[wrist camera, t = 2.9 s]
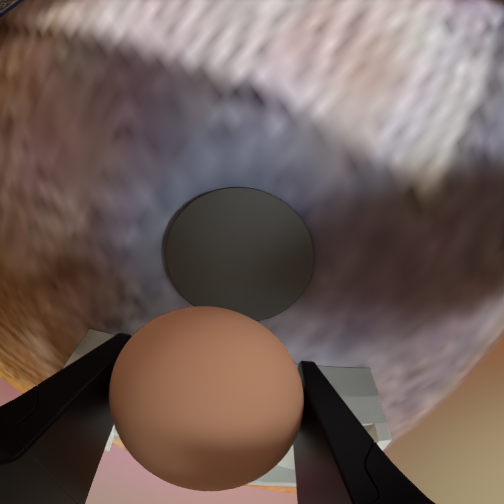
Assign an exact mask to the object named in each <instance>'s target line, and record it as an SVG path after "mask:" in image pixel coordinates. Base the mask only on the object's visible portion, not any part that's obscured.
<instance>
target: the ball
mask: <svg viewBox="0 0 504 504" xmlns="http://www.w3.org/2000/svg"><path fill="white" fill-rule="evenodd" d="M109 404H110V411H111V416H112V420H113V423H114V426H115V429H116V431H117V433H118V435H119V437H120V439H121V441H122V443H123V444H124V446H125V447H126V448H127V450H128V451H129V452H130V454H131V455H132V456H133V457H134V459H135V460H136V461H138V462H139V463H140V464H141V465H142V466H143V467H144V468H145V469H146V470H148V471H149V472H151V473H152V474H154V475H156V476H157V477H159V478H161V479H162V480H164V481H166V482H169V483H171V484H174V485H177V486H180V487H183V488H188V489H192V490H199V491H221V490H227V489H233V488H236V487H240V486H243V485H246V484H248V483H251V482H253V481H255V480H257V479H258V478H260V477H262V476H263V475H265V474H266V473H268V472H269V471H270V470H271V469H273V468H274V467H275V466H276V465H277V464H278V463H279V462H280V461H281V460H282V459H283V458H284V456H285V455H286V454H287V453H288V451H289V450H290V448H291V446H292V445H293V443H294V441H295V439H296V437H297V434H298V431H299V429H300V426H301V423H302V417H303V409H304V394H303V387H302V382H301V378H300V375H299V372H298V369H297V367H296V364H295V362H294V360H293V358H292V357H291V355H290V353H289V352H288V350H287V349H286V347H285V346H284V345H283V344H282V342H281V341H280V340H279V339H278V338H277V337H276V336H275V335H274V334H273V333H272V332H271V331H270V330H268V329H267V328H266V327H264V326H263V325H262V324H260V323H259V322H257V321H255V320H253V319H252V318H250V317H248V316H245V315H243V314H241V313H238V312H235V311H232V310H229V309H224V308H219V307H210V306H197V307H187V308H181V309H177V310H174V311H171V312H168V313H166V314H163V315H161V316H158V317H157V318H155V319H153V320H151V321H150V322H148V323H147V324H145V325H144V326H143V327H142V328H140V329H139V330H138V331H137V332H136V333H135V334H134V335H133V336H132V337H131V338H130V339H129V341H128V342H127V343H126V344H125V346H124V347H123V349H122V350H121V352H120V354H119V356H118V358H117V360H116V363H115V365H114V367H113V371H112V375H111V380H110V385H109Z"/></svg>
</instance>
